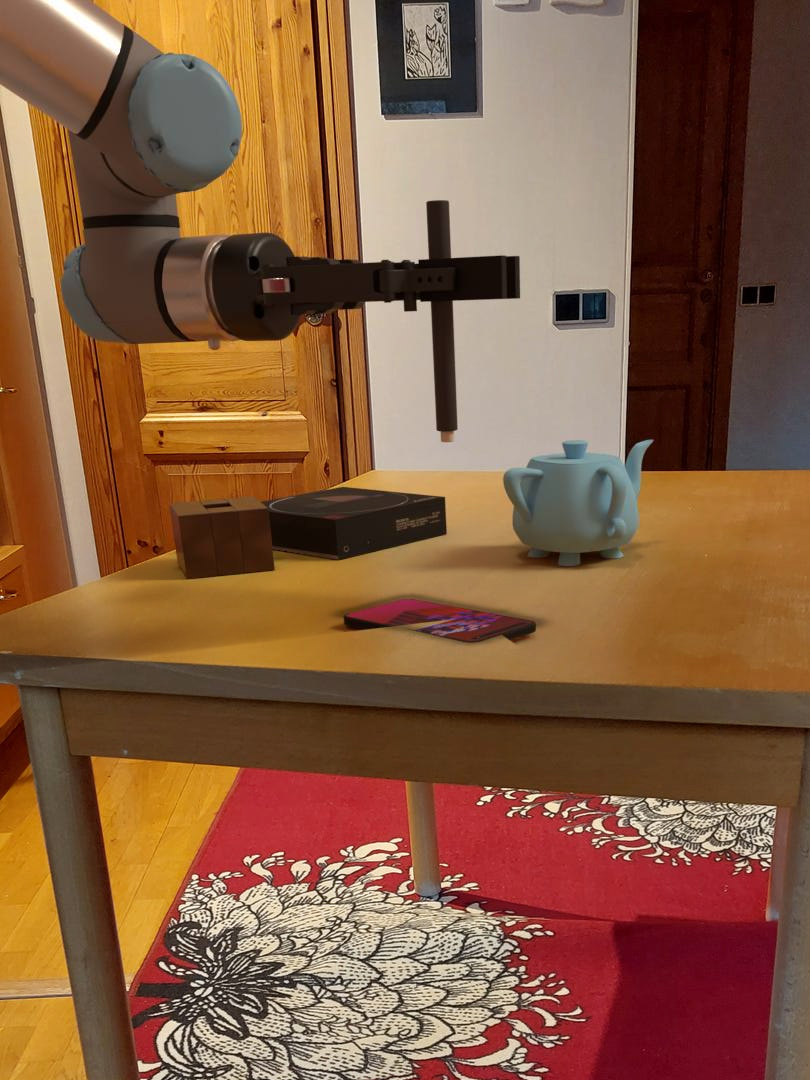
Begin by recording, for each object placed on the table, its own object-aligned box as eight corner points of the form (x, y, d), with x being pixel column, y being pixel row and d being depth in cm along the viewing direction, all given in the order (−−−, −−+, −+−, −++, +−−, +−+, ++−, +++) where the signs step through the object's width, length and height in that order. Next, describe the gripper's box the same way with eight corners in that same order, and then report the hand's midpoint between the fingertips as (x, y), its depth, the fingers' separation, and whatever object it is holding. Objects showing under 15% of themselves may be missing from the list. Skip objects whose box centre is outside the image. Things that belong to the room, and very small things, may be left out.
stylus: (440, 443, 88) (429, 200, 81) (434, 441, 89) (423, 202, 82) (460, 441, 88) (451, 199, 81) (454, 439, 90) (445, 201, 83)
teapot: (497, 571, 114) (493, 451, 109) (533, 536, 126) (532, 427, 121) (625, 577, 111) (627, 453, 105) (650, 540, 123) (654, 428, 117)
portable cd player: (342, 520, 141) (339, 486, 139) (446, 533, 130) (445, 496, 129) (233, 543, 130) (228, 506, 128) (338, 559, 119) (335, 519, 118)
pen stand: (186, 579, 113) (178, 515, 111) (177, 563, 121) (169, 503, 118) (274, 570, 116) (268, 508, 113) (260, 554, 123) (253, 496, 121)
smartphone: (407, 597, 99) (541, 621, 90) (408, 607, 100) (541, 632, 90) (337, 615, 94) (472, 643, 85) (338, 626, 95) (472, 655, 85)
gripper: (295, 337, 99) (552, 332, 89) (184, 345, 87) (466, 340, 77) (286, 237, 96) (551, 220, 86) (169, 231, 84) (461, 211, 74)
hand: (510, 277), depth 82 cm, fingers closed on stylus, 1 cm apart
